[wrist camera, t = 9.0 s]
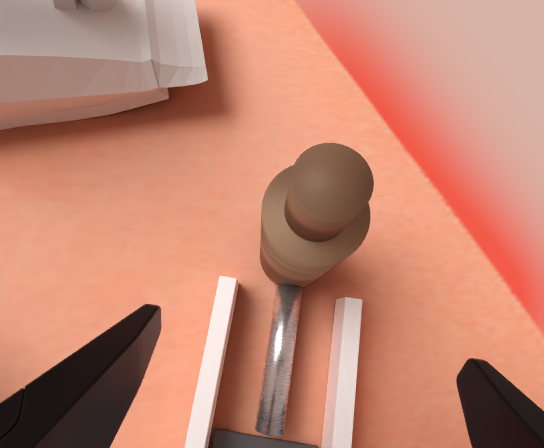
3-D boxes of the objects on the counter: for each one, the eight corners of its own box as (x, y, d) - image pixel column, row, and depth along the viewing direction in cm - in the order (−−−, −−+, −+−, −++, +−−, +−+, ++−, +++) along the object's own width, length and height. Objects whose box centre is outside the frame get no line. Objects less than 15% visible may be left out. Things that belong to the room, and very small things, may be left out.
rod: (282, 428, 19) (284, 438, 17) (255, 424, 19) (254, 433, 17) (300, 289, 21) (304, 286, 19) (276, 285, 21) (277, 282, 19)
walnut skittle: (320, 293, 21) (398, 258, 10) (255, 282, 22) (251, 235, 10) (327, 230, 23) (404, 130, 11) (265, 220, 23) (274, 109, 11)
